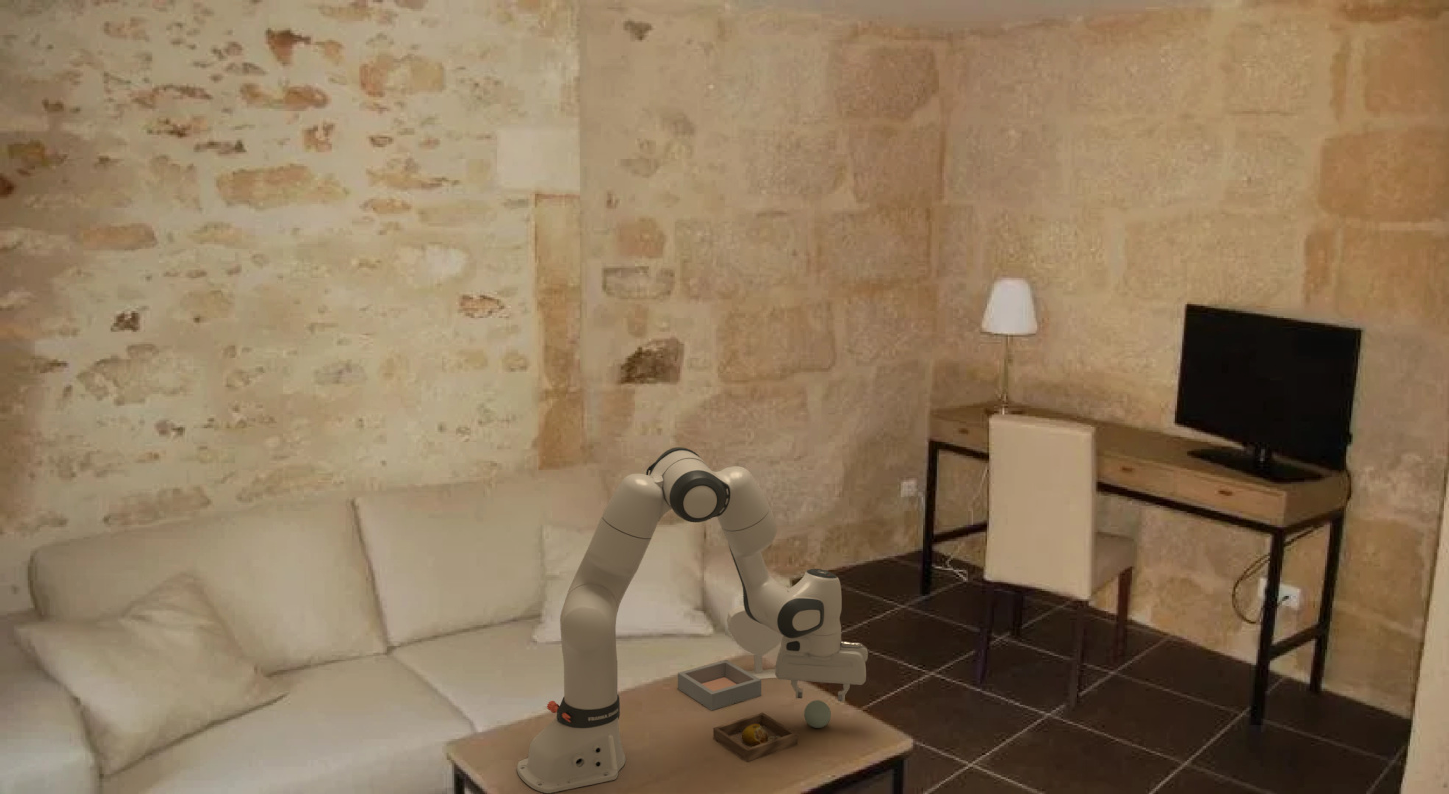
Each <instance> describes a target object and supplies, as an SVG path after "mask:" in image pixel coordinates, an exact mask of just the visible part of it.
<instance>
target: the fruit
mask: <svg viewBox="0 0 1449 794" xmlns="http://www.w3.org/2000/svg"><path fill="white" fill-rule="evenodd" d="M768 734H769V733H768V731H767V730H766V729H765V727H764V726H762V725H760V724H752V725H749V726H748V727H746V728H745V729H744V730H743V731H742V733H741V740H742V742H743V743H744V744H745V745H746V746H750V747H754V746H757V745H760V744H763V743H766V742H769V741H772V740H775V739H778V738H781V737H780V736H778V735H776V736H774V735H773V736H772V735H768Z"/></svg>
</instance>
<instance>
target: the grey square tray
mask: <svg viewBox="0 0 1449 794" xmlns="http://www.w3.org/2000/svg"><path fill="white" fill-rule="evenodd" d="M747 671H748V670H745V669H743V668H742V667H740V666H738V665H736V664H735V663H733V662H731V661H729V660H727V659H723V660H720V661H718V662H713V663H709V664H705V665H702V666H699V667H695V668H691V669H688V670H684V671H680V672H677V689H678V690H679V691H681V692H683V693H684V694H685V695H686V696H689V697H690V698H692V699H693V700H695V701H696V702H698V703H699V704H701V705H702V704H703V706H704V707H706V708H707V709H709V710H711V711H715V710H718V709H721V707H722V708H725V707H727V706H728V705H729V706H731V705H730V704H732V705H735V704H737V703H738V702H739V703H741V702H740V701H742V702H745V701H748V700H747V699H749V700H751V699H755V698H758V697H757V696H759V697H761V696H762V679H759V678H757V677H755V676H754V675H752V674H750V673H748V672H747ZM734 703H735V704H734ZM739 703H738V704H739ZM729 706H728V707H729Z"/></svg>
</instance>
